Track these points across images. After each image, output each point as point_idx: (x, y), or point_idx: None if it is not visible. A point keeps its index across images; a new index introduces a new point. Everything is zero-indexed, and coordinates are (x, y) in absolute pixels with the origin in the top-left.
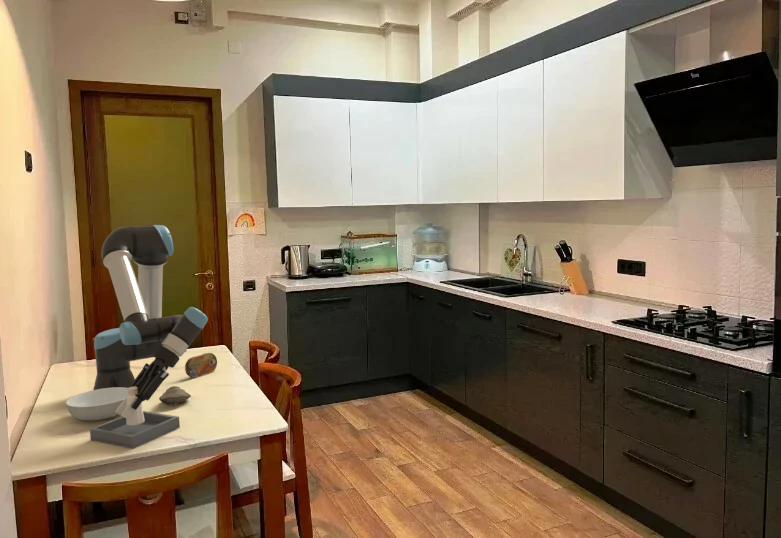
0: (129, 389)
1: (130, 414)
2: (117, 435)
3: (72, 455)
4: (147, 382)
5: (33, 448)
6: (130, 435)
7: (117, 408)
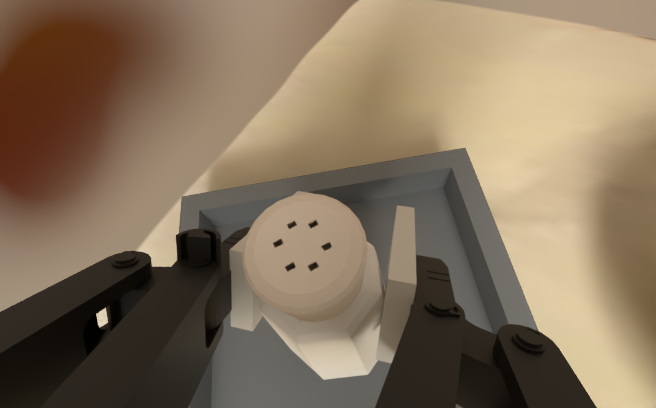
0: (289, 197)
1: None
2: (277, 183)
3: (356, 89)
4: (56, 400)
5: (543, 49)
6: (204, 202)
7: (414, 216)
